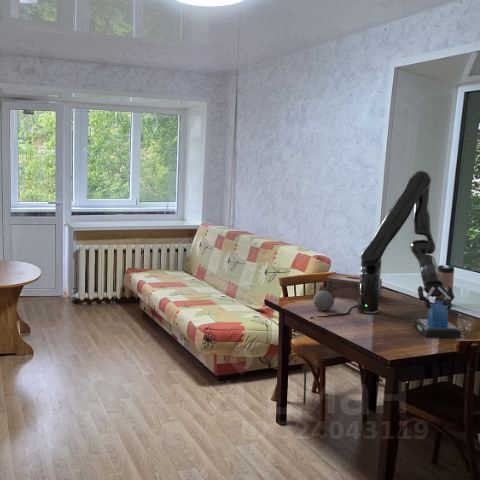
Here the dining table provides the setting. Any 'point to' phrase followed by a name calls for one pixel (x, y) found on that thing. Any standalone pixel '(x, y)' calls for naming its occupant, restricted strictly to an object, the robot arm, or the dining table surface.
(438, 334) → the scale
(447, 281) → the travel mug
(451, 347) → the dining table surface
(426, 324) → the scale pan
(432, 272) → the robot arm
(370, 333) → the dining table surface
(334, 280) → the tissue box cover
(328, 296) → the decorative ball
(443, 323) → the perfume bottle
